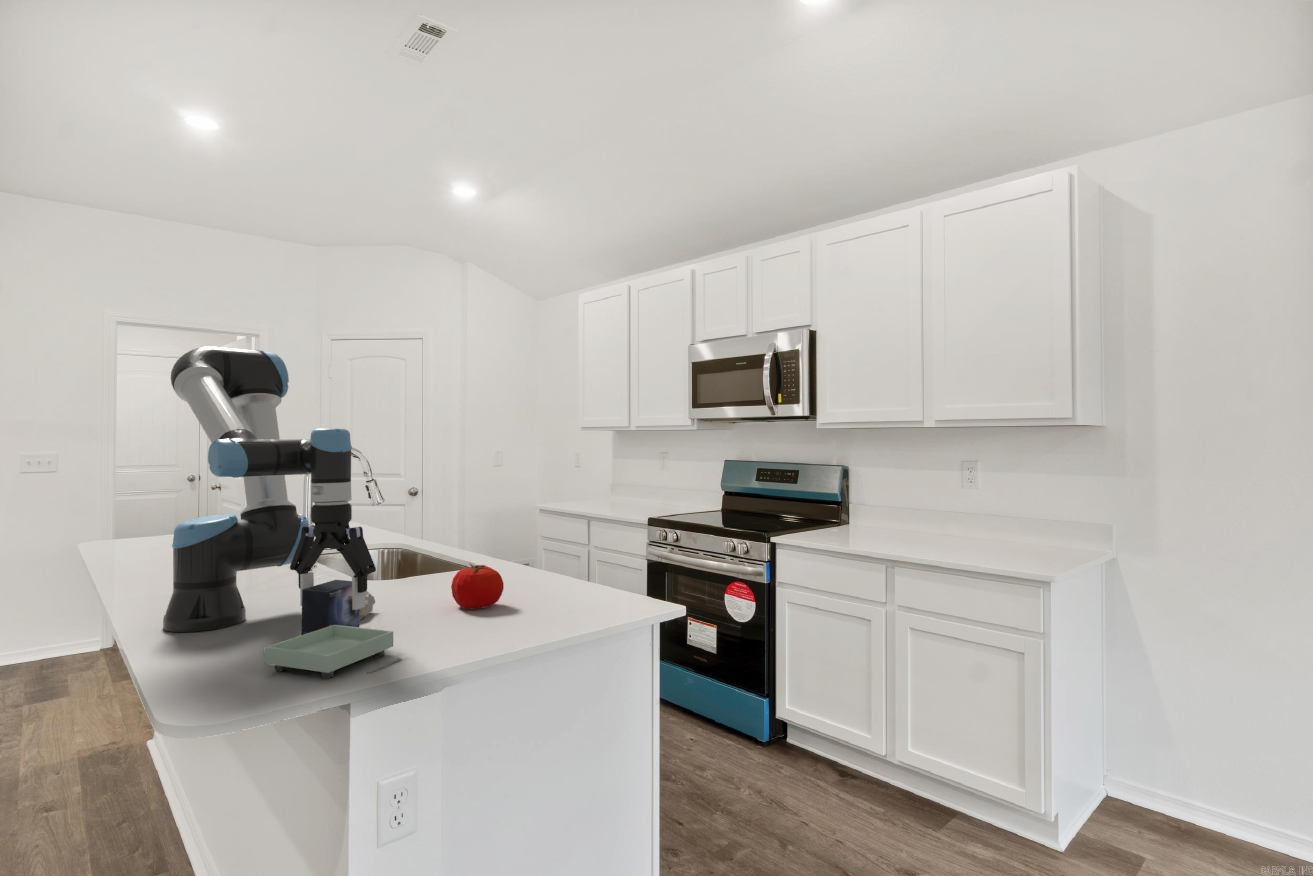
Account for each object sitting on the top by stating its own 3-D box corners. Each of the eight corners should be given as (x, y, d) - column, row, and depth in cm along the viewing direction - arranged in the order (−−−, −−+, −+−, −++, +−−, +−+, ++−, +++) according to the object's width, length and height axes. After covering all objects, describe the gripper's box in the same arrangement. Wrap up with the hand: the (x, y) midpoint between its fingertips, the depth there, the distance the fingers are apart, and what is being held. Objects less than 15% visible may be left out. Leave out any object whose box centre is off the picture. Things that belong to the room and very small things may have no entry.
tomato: (461, 601, 170) (461, 560, 170) (510, 602, 169) (509, 561, 169) (440, 612, 159) (440, 568, 159) (492, 614, 158) (492, 569, 158)
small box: (328, 644, 135) (328, 590, 135) (299, 642, 136) (299, 589, 136) (361, 629, 145) (361, 580, 145) (334, 627, 146) (334, 579, 146)
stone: (375, 630, 157) (384, 587, 162) (351, 616, 146) (361, 571, 151) (343, 630, 158) (352, 588, 163) (316, 617, 147) (327, 572, 152)
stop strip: (366, 673, 117) (366, 671, 117) (398, 659, 125) (398, 658, 125) (370, 673, 117) (370, 672, 117) (402, 659, 125) (402, 658, 125)
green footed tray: (264, 672, 118) (264, 647, 118) (334, 647, 132) (334, 624, 132) (328, 682, 113) (328, 656, 113) (393, 655, 127) (393, 631, 127)
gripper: (270, 504, 141) (271, 606, 141) (366, 505, 133) (367, 614, 133) (300, 501, 148) (301, 599, 148) (393, 502, 140) (394, 606, 140)
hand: (332, 606), depth 140 cm, fingers open, 13 cm apart
